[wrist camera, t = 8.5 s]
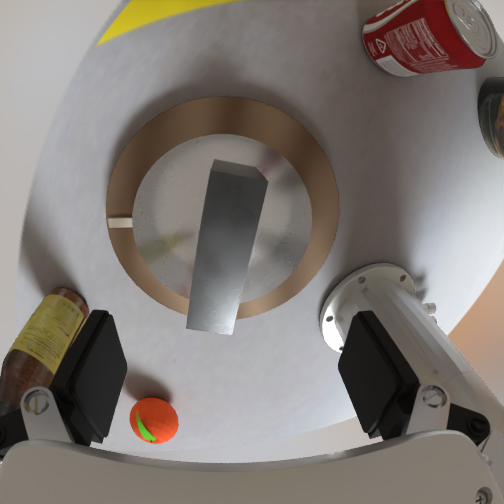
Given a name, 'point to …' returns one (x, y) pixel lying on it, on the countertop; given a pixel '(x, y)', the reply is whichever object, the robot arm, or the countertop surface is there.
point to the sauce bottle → (41, 346)
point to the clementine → (154, 420)
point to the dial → (221, 224)
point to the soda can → (430, 37)
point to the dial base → (236, 123)
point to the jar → (492, 114)
